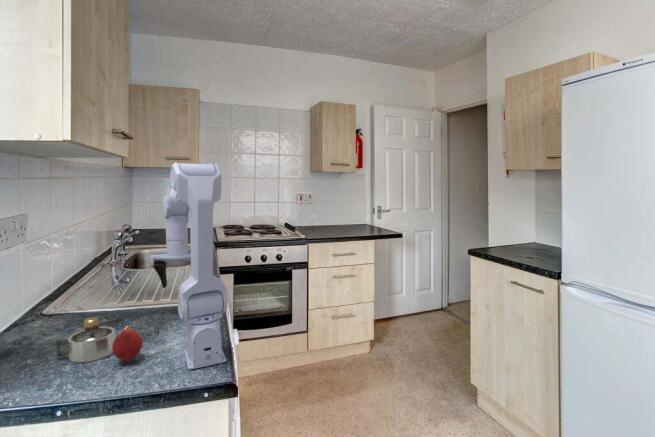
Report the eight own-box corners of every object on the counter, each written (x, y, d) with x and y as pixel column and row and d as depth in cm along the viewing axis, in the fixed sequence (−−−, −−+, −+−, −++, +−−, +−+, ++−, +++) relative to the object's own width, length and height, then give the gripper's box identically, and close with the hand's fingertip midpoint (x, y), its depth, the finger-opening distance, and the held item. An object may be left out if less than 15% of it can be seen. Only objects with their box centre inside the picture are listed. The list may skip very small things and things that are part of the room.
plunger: (106, 340, 81) (105, 321, 81) (74, 346, 78) (73, 326, 78) (108, 331, 86) (107, 312, 86) (79, 335, 84) (77, 317, 83)
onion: (139, 365, 77) (138, 330, 76) (109, 369, 75) (107, 333, 75) (145, 353, 82) (143, 320, 82) (117, 357, 81) (115, 323, 80)
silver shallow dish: (114, 357, 81) (113, 338, 80) (53, 368, 76) (51, 348, 75) (117, 341, 89) (116, 324, 88) (62, 351, 84) (60, 332, 83)
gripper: (205, 236, 106) (207, 280, 107) (153, 238, 103) (155, 283, 104) (202, 240, 99) (204, 287, 101) (146, 241, 96) (148, 290, 98)
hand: (179, 285), depth 102 cm, fingers open, 7 cm apart
